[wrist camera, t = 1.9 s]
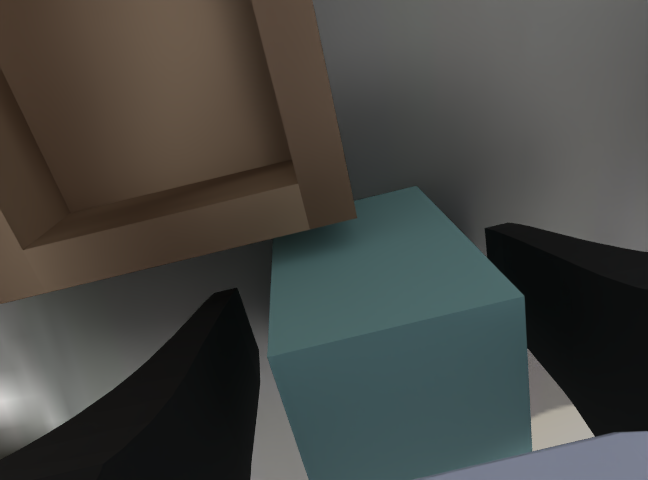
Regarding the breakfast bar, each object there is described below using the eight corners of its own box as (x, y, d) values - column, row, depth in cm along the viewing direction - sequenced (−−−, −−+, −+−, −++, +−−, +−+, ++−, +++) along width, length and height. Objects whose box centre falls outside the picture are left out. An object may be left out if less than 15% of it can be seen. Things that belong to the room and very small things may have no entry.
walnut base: (262, -182, 9) (253, -283, 6) (340, 179, 12) (357, 218, 9) (-269, -49, 9) (-507, -91, 6) (-59, 275, 12) (-160, 342, 9)
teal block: (416, 185, 12) (524, 296, 7) (434, 307, 14) (533, 476, 8) (273, 219, 12) (266, 357, 7) (307, 337, 14) (324, 525, 8)
